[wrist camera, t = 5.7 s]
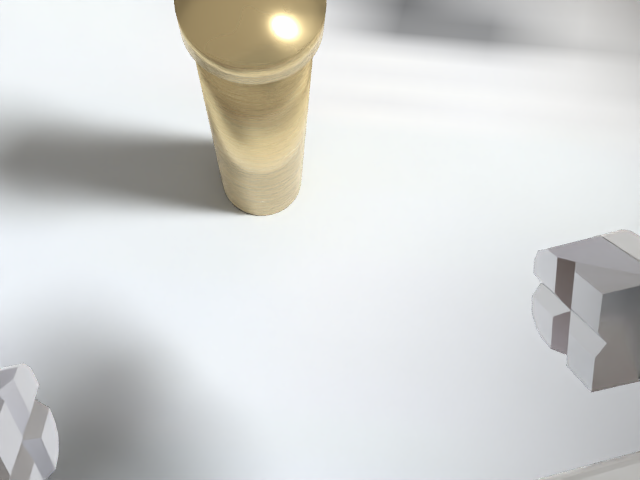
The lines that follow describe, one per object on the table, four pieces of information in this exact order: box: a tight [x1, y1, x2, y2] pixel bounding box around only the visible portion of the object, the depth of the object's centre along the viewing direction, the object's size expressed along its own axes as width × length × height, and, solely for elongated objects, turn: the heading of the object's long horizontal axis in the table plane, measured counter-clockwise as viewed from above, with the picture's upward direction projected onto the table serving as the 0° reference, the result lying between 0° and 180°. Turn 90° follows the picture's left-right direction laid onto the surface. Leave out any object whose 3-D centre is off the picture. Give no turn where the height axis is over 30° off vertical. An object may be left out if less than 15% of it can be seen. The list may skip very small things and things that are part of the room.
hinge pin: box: [174, 0, 326, 216], centre depth 18 cm, size 3×3×10 cm
